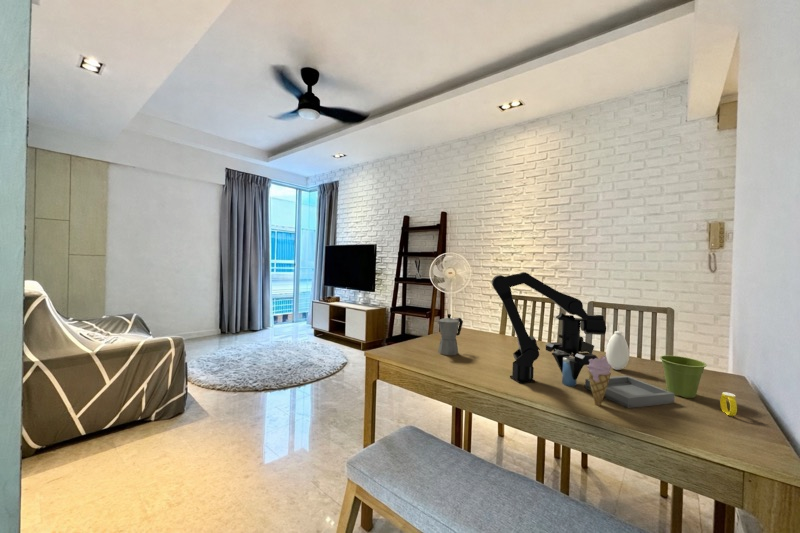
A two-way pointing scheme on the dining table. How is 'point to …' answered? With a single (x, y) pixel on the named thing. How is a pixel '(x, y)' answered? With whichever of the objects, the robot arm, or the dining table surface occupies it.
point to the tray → (634, 392)
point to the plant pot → (682, 375)
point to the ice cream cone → (599, 377)
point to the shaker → (567, 372)
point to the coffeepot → (449, 335)
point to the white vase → (617, 351)
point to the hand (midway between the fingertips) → (569, 377)
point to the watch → (731, 400)
